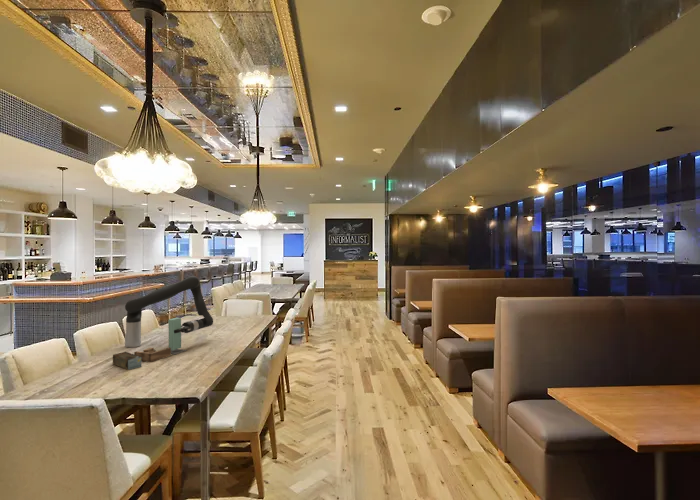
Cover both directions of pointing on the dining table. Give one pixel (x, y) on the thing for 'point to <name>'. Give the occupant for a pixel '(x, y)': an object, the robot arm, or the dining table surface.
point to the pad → (177, 351)
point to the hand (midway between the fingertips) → (171, 331)
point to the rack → (154, 355)
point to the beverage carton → (127, 360)
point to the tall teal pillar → (174, 337)
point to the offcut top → (149, 350)
